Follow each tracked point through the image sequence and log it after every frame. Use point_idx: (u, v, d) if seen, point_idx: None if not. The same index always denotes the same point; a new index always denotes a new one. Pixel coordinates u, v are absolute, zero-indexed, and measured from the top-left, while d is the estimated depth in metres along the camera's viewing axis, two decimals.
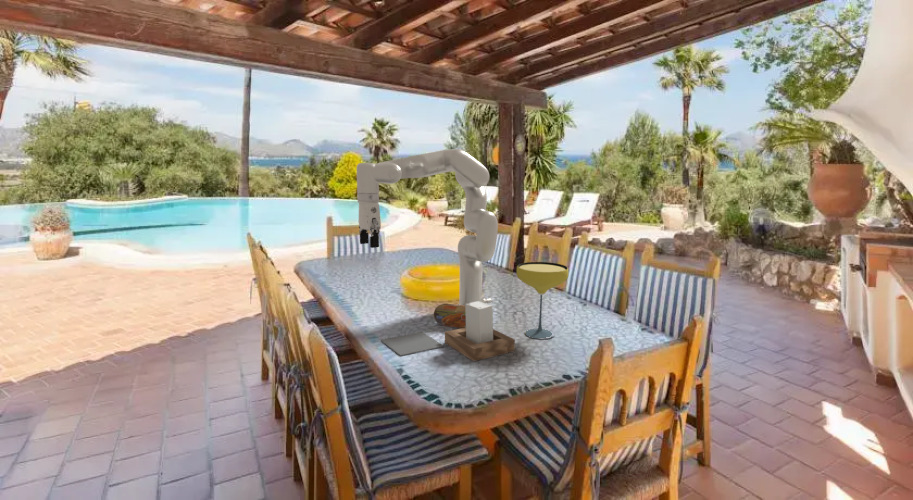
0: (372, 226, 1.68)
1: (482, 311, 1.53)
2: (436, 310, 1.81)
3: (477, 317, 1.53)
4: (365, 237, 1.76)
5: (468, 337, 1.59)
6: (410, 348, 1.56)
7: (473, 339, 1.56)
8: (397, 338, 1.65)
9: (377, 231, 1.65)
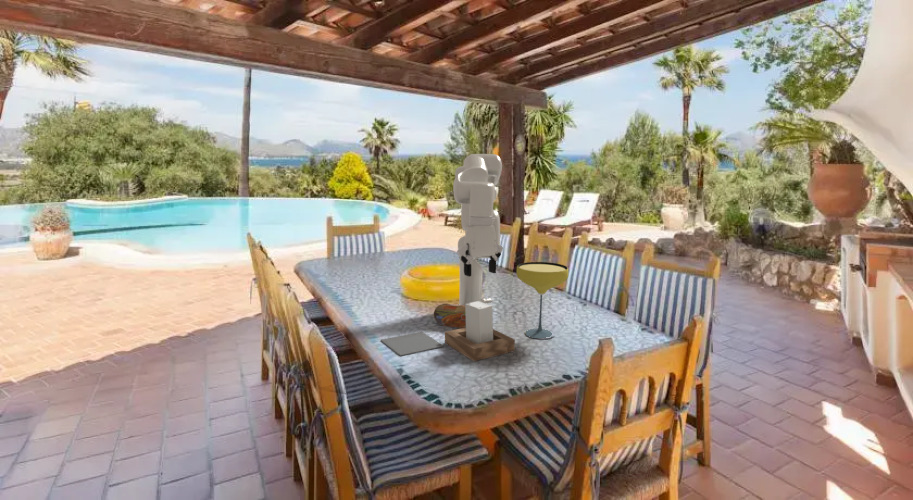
0: None
1: (482, 311, 1.53)
2: (436, 310, 1.81)
3: (477, 318, 1.53)
4: None
5: (468, 337, 1.59)
6: (410, 348, 1.56)
7: (473, 339, 1.56)
8: (397, 338, 1.65)
9: None
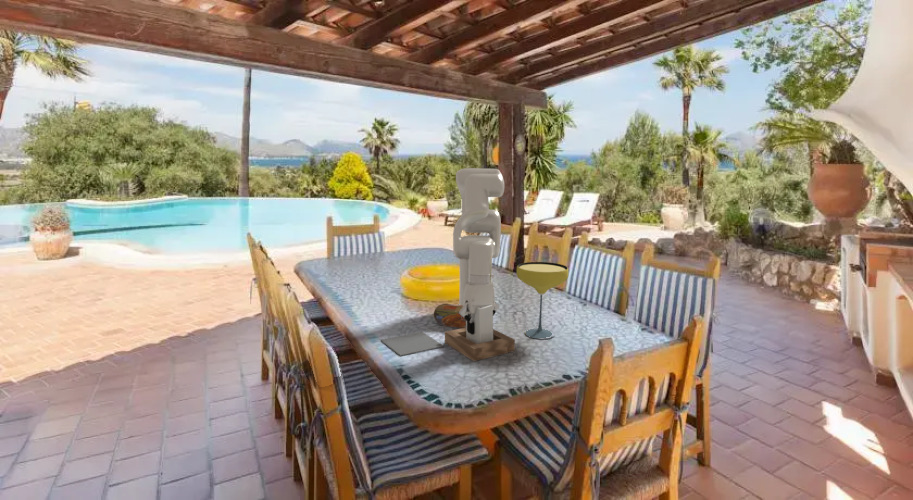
0: None
1: (482, 311, 1.53)
2: (436, 310, 1.81)
3: (477, 317, 1.53)
4: None
5: (468, 337, 1.59)
6: (410, 348, 1.56)
7: (474, 338, 1.56)
8: (397, 338, 1.65)
9: None
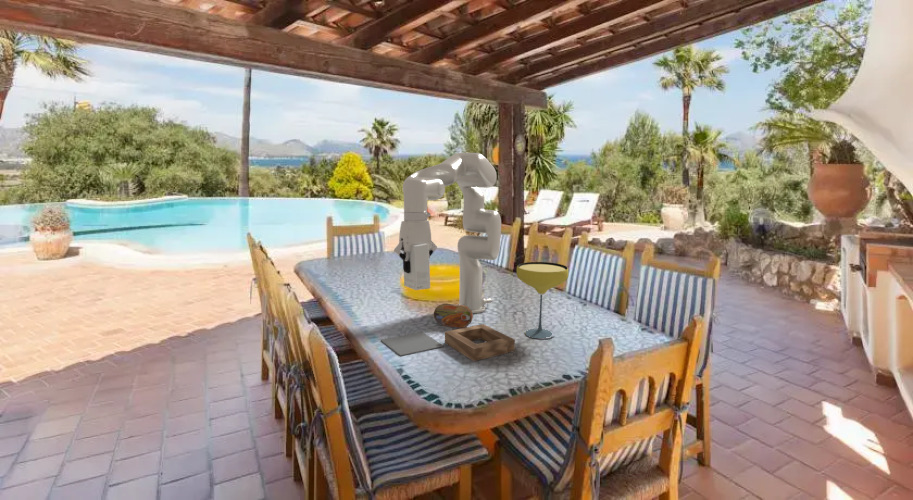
0: None
1: (417, 249, 1.51)
2: (436, 310, 1.81)
3: (412, 255, 1.52)
4: None
5: (405, 277, 1.57)
6: (410, 348, 1.56)
7: (410, 277, 1.55)
8: (397, 338, 1.65)
9: None
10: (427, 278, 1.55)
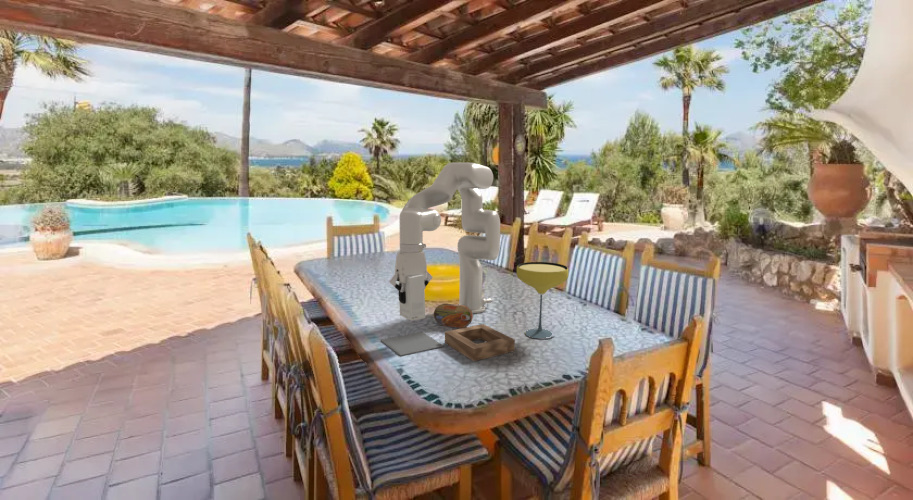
0: None
1: (412, 280, 1.53)
2: (436, 310, 1.81)
3: (408, 286, 1.54)
4: None
5: (401, 307, 1.59)
6: (410, 348, 1.56)
7: (405, 308, 1.57)
8: (397, 338, 1.65)
9: None
10: (422, 309, 1.57)
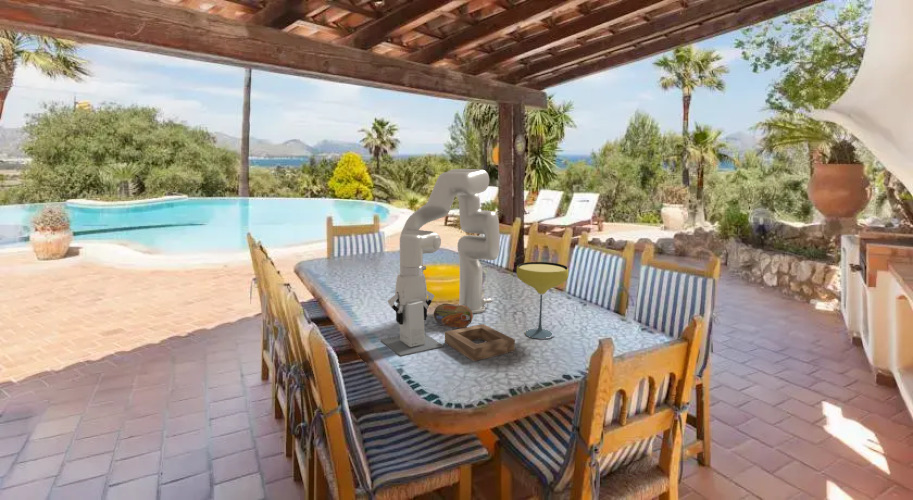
0: None
1: (411, 307, 1.55)
2: (436, 310, 1.81)
3: (407, 313, 1.55)
4: None
5: (401, 332, 1.61)
6: (410, 348, 1.56)
7: (405, 334, 1.58)
8: (397, 338, 1.65)
9: None
10: (422, 335, 1.58)
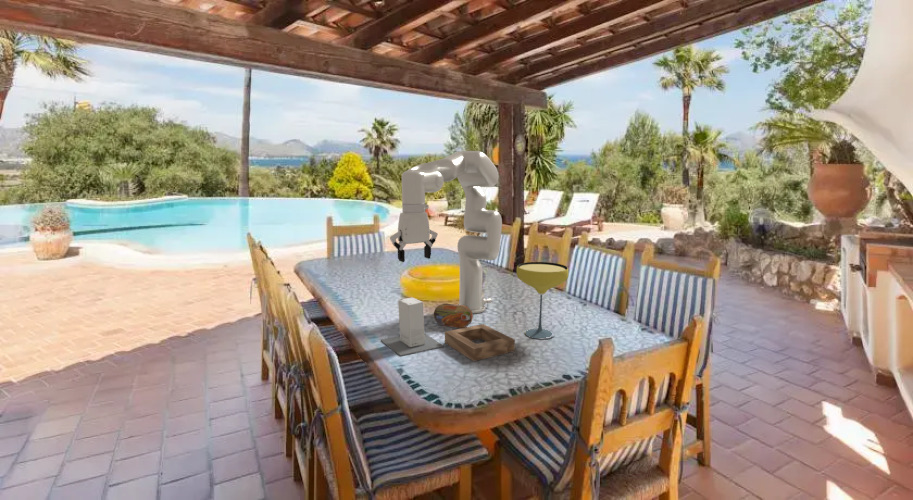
0: None
1: (411, 307, 1.55)
2: (436, 310, 1.81)
3: (407, 313, 1.55)
4: None
5: (401, 333, 1.61)
6: (410, 348, 1.56)
7: (405, 334, 1.58)
8: (397, 338, 1.65)
9: None
10: (422, 335, 1.58)
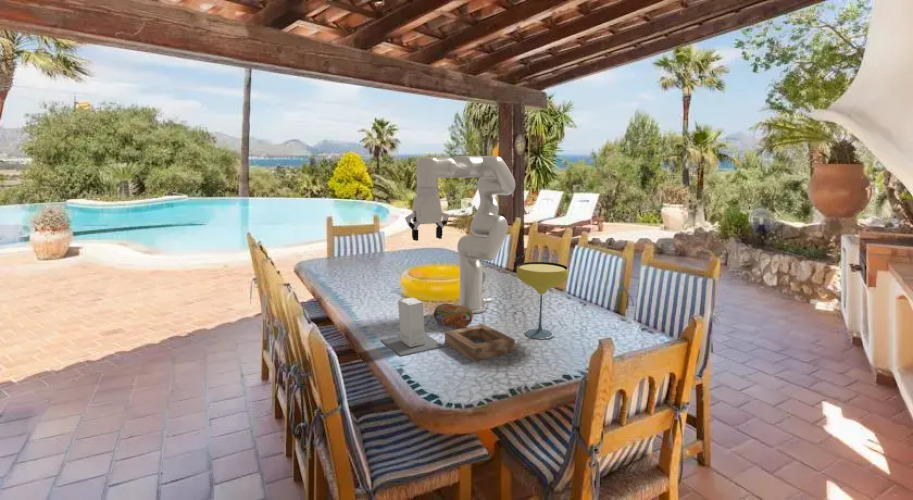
0: None
1: (411, 307, 1.55)
2: (436, 310, 1.81)
3: (407, 313, 1.55)
4: None
5: (401, 333, 1.61)
6: (410, 348, 1.56)
7: (405, 334, 1.58)
8: (397, 338, 1.65)
9: None
10: (422, 335, 1.58)
